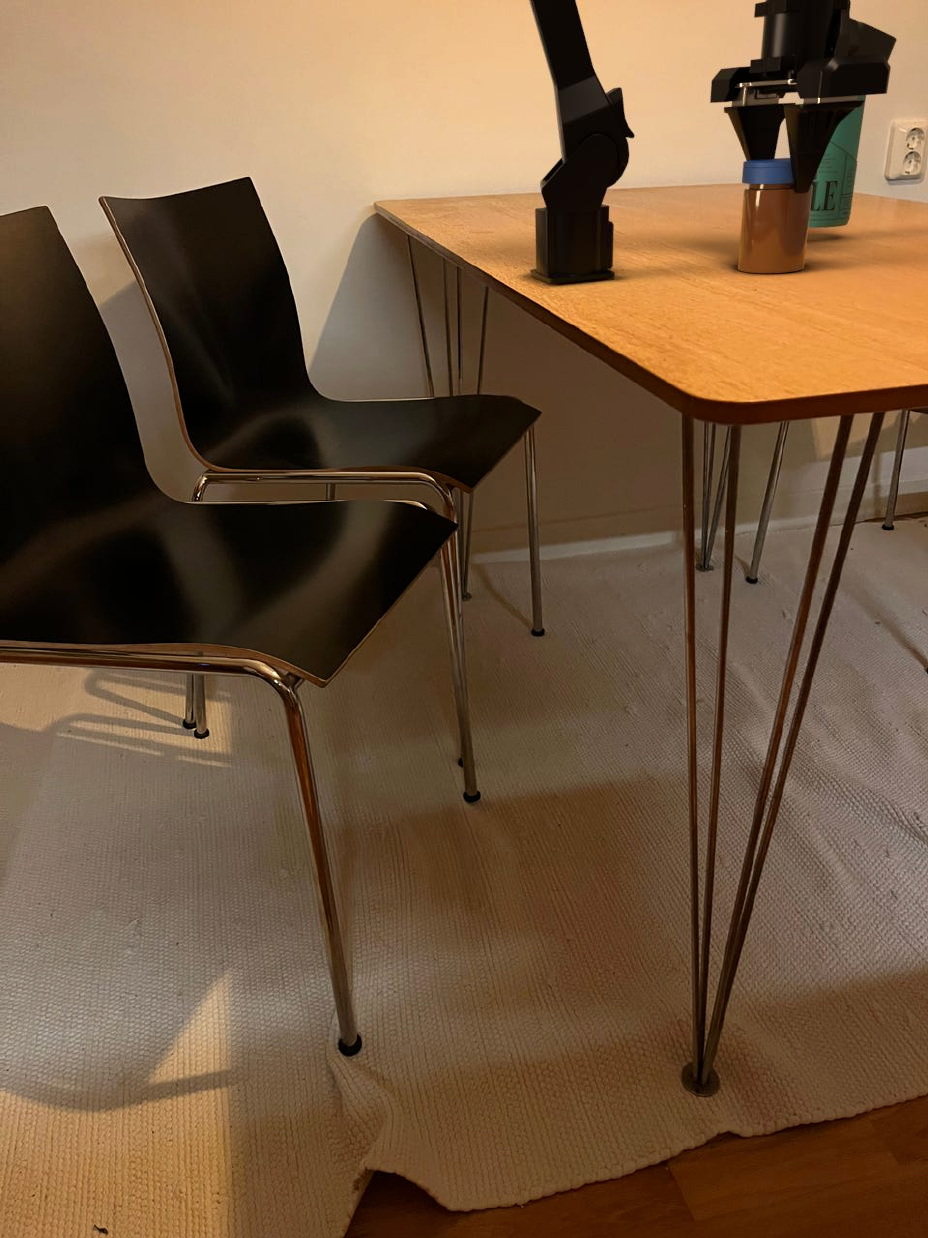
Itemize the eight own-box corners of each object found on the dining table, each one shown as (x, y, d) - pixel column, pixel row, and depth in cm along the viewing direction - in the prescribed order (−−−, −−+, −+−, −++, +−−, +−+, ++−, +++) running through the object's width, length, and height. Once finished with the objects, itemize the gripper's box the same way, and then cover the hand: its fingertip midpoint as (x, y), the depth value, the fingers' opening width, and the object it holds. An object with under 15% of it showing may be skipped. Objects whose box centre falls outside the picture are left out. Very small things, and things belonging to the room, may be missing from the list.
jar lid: (770, 177, 87) (772, 157, 87) (831, 177, 83) (834, 156, 82) (727, 183, 84) (728, 162, 83) (788, 184, 79) (790, 162, 79)
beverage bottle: (840, 233, 104) (868, 24, 95) (855, 241, 99) (887, 19, 89) (780, 235, 105) (802, 29, 95) (792, 244, 99) (817, 24, 90)
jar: (758, 275, 84) (767, 173, 80) (725, 267, 89) (732, 171, 85) (817, 268, 85) (829, 168, 81) (781, 261, 90) (790, 166, 86)
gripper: (966, -36, 70) (928, 189, 78) (822, -6, 86) (801, 178, 93) (837, -31, 68) (810, 200, 75) (713, -2, 84) (701, 187, 91)
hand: (781, 190), depth 84 cm, fingers closed on jar lid, 6 cm apart
